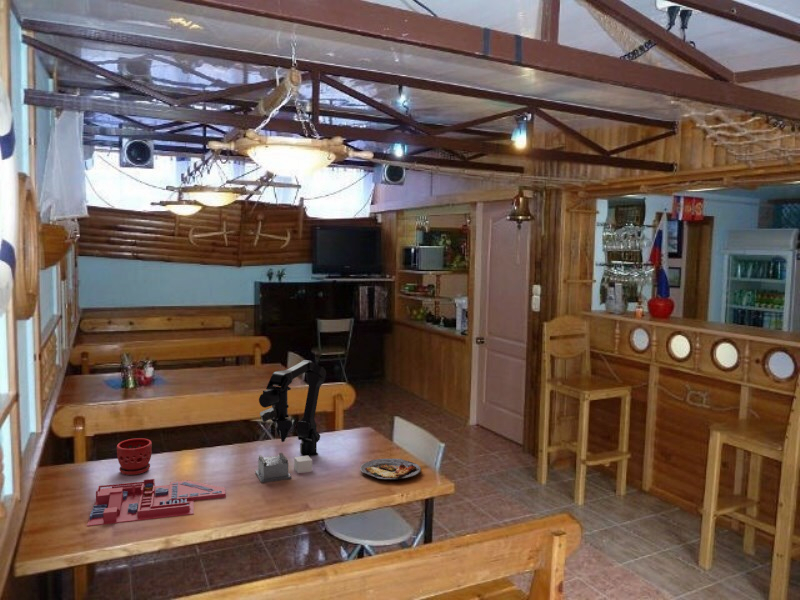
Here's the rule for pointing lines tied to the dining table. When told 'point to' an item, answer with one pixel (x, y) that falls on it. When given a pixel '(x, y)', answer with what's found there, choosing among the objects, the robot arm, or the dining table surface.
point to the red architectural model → (149, 501)
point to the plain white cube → (303, 464)
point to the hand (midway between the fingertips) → (280, 438)
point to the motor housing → (272, 468)
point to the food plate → (390, 469)
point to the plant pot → (134, 456)
